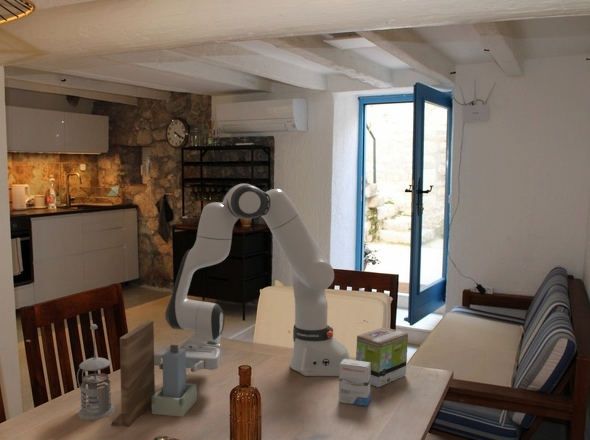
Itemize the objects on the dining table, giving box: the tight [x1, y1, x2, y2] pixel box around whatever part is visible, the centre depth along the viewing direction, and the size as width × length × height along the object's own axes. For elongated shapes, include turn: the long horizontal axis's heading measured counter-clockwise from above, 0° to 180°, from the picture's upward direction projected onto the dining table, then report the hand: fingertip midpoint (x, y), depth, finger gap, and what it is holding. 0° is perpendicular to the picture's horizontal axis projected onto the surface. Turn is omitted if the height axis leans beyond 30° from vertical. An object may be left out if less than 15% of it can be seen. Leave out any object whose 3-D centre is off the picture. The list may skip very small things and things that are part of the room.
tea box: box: [355, 326, 409, 388], centre depth 181 cm, size 15×10×15 cm, turn 135°
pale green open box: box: [151, 382, 198, 418], centre depth 159 cm, size 9×11×5 cm
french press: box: [76, 323, 115, 421], centre depth 155 cm, size 10×12×25 cm
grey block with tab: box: [162, 344, 187, 398], centre depth 158 cm, size 4×6×15 cm
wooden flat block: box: [111, 320, 156, 428], centre depth 154 cm, size 5×16×24 cm, turn 170°
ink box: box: [338, 358, 371, 407], centre depth 163 cm, size 8×5×12 cm, turn 71°
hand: (177, 368), depth 159 cm, fingers open, 8 cm apart
